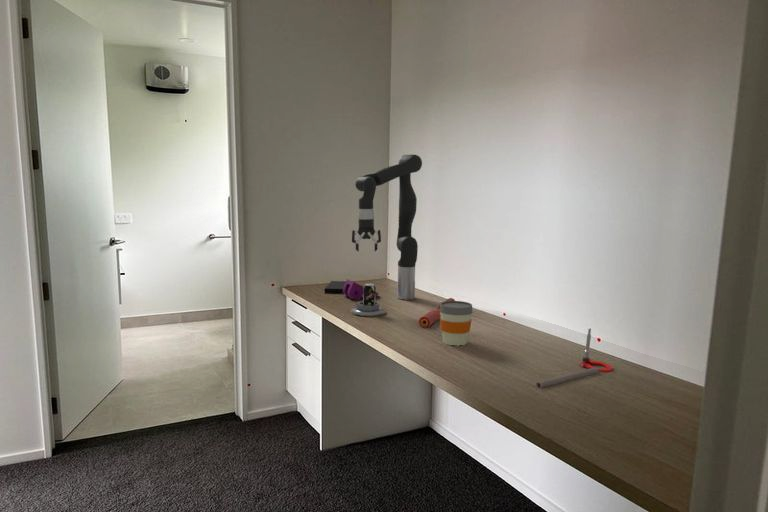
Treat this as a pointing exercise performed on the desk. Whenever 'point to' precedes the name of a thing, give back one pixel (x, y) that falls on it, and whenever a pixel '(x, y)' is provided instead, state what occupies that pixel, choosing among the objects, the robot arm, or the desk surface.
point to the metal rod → (567, 377)
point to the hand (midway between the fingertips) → (366, 251)
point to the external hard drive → (335, 287)
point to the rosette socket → (368, 309)
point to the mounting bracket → (354, 290)
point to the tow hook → (588, 361)
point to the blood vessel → (431, 316)
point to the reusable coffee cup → (455, 321)
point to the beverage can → (369, 294)
